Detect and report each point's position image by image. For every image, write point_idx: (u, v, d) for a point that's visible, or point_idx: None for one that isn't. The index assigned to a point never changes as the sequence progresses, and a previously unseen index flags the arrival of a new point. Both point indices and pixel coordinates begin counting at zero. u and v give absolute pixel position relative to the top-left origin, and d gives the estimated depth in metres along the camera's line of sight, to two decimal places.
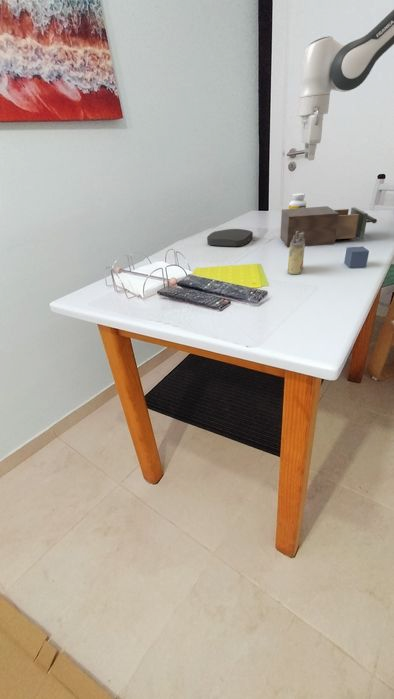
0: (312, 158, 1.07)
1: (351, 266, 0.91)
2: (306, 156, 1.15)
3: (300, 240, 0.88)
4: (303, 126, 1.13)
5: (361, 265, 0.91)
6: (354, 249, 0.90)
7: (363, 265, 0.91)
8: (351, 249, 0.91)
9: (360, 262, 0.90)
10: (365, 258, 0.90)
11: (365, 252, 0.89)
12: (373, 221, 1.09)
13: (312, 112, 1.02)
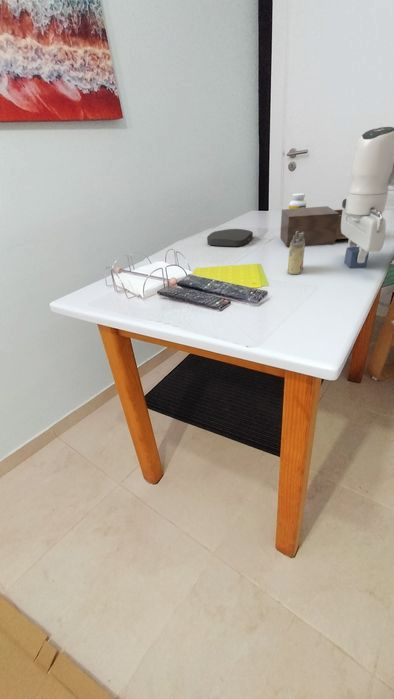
0: (362, 261, 0.89)
1: (351, 266, 0.91)
2: None
3: (300, 240, 0.88)
4: (345, 217, 0.94)
5: (361, 265, 0.91)
6: (354, 249, 0.90)
7: (363, 265, 0.91)
8: (351, 249, 0.91)
9: None
10: (365, 258, 0.90)
11: None
12: None
13: (368, 213, 0.82)
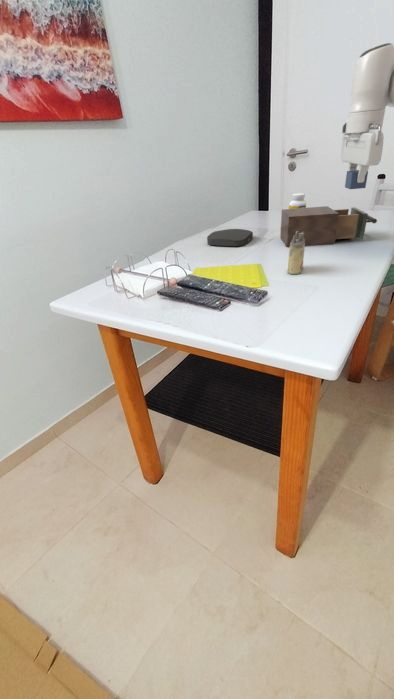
0: (362, 180, 0.95)
1: (351, 187, 0.97)
2: None
3: (300, 240, 0.88)
4: (345, 144, 1.00)
5: (361, 186, 0.97)
6: (354, 171, 0.97)
7: (363, 186, 0.97)
8: (351, 171, 0.97)
9: (360, 183, 0.97)
10: None
11: None
12: (373, 221, 1.09)
13: (367, 129, 0.88)
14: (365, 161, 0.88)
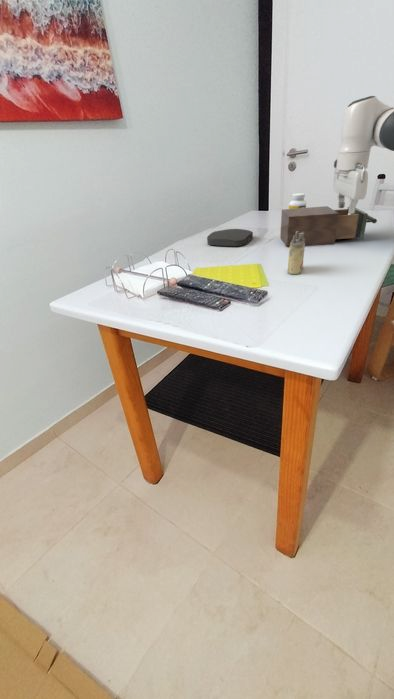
0: (352, 211, 1.06)
1: None
2: (340, 206, 1.14)
3: (300, 240, 0.88)
4: (336, 176, 1.12)
5: None
6: None
7: None
8: None
9: None
10: None
11: None
12: (373, 221, 1.09)
13: (354, 168, 1.01)
14: (352, 196, 1.00)
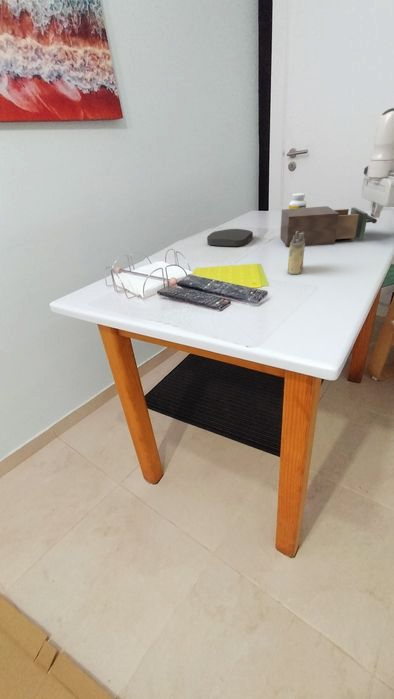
0: (378, 216, 1.10)
1: None
2: None
3: (300, 240, 0.88)
4: (366, 183, 1.13)
5: None
6: None
7: None
8: None
9: None
10: None
11: None
12: (373, 221, 1.09)
13: (387, 175, 1.01)
14: (384, 203, 1.01)
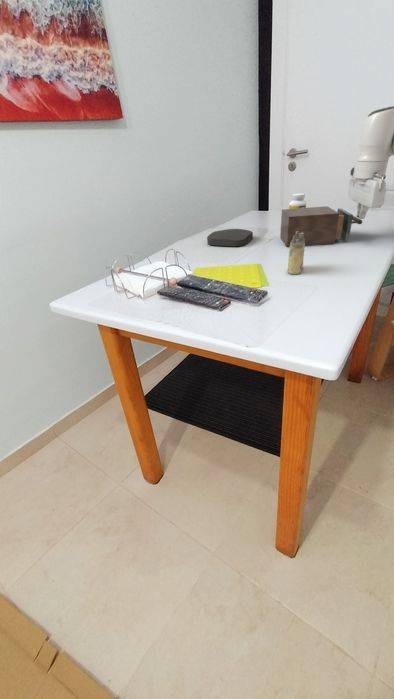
0: (363, 217, 1.11)
1: None
2: None
3: (300, 240, 0.88)
4: (352, 184, 1.13)
5: None
6: None
7: None
8: None
9: None
10: None
11: None
12: (358, 222, 1.09)
13: (372, 177, 1.02)
14: (369, 204, 1.01)
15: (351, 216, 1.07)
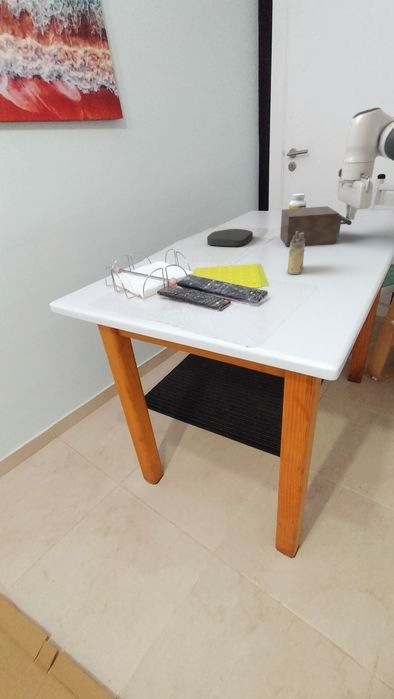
0: (352, 218, 1.11)
1: None
2: None
3: (300, 240, 0.88)
4: (341, 185, 1.14)
5: None
6: None
7: None
8: None
9: None
10: None
11: None
12: (348, 223, 1.10)
13: (359, 178, 1.02)
14: (357, 205, 1.02)
15: (340, 217, 1.07)
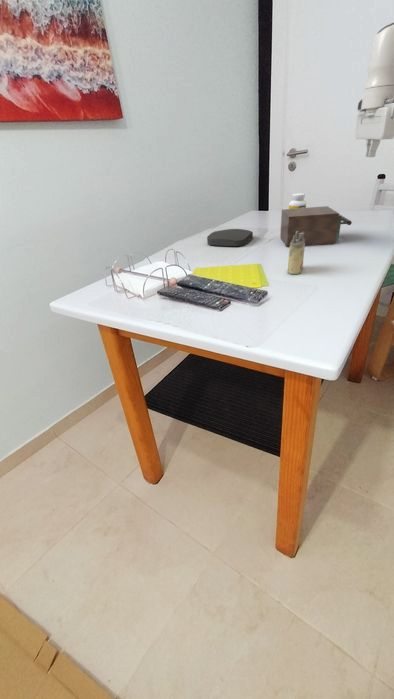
0: (373, 155, 1.00)
1: None
2: None
3: (300, 240, 0.88)
4: (360, 121, 1.03)
5: None
6: None
7: None
8: None
9: None
10: None
11: None
12: (348, 223, 1.10)
13: (383, 104, 0.91)
14: (380, 135, 0.91)
15: (340, 217, 1.07)
